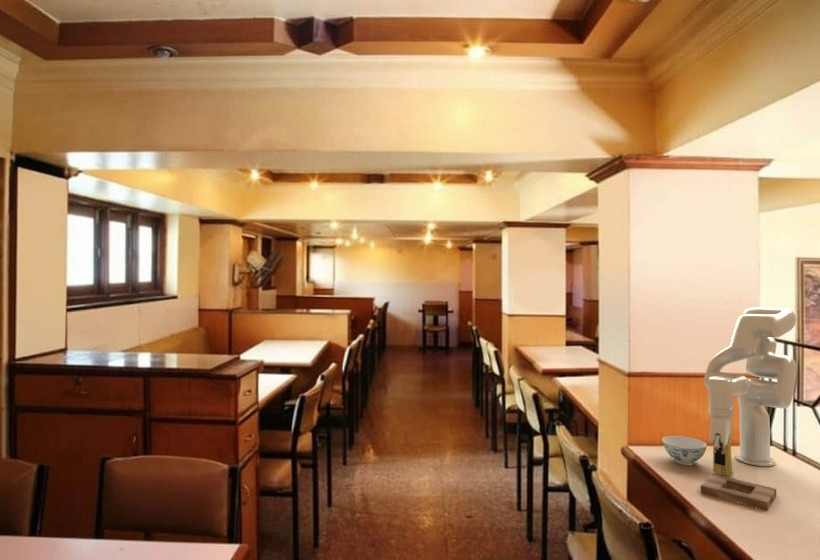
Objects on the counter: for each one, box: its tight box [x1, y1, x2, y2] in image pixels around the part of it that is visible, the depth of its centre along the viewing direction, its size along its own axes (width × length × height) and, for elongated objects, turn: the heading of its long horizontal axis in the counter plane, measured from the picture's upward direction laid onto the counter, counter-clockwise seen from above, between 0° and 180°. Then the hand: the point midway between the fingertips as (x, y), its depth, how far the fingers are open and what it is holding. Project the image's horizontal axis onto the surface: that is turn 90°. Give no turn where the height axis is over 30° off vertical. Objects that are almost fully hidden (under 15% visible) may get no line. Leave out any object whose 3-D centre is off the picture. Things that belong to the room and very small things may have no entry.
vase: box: [712, 435, 734, 477], centre depth 176 cm, size 6×6×14 cm
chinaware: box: [661, 435, 708, 466], centre depth 190 cm, size 15×15×8 cm
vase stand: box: [700, 473, 777, 511], centre depth 160 cm, size 14×18×2 cm
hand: (722, 461), depth 176 cm, fingers closed on vase, 5 cm apart
